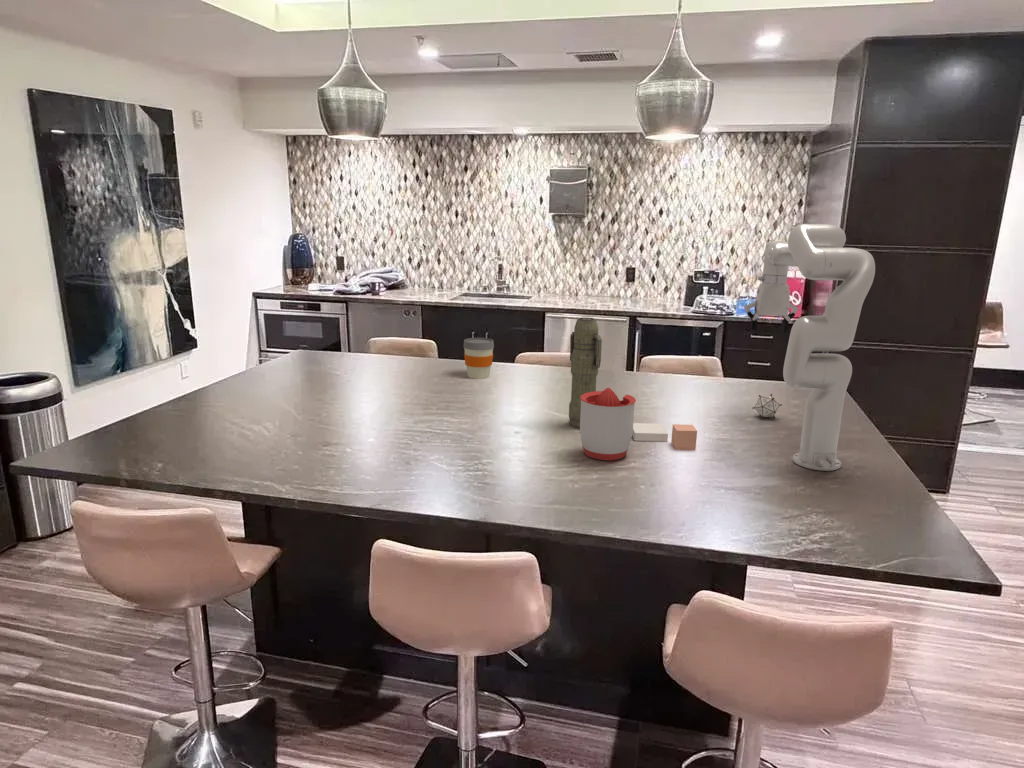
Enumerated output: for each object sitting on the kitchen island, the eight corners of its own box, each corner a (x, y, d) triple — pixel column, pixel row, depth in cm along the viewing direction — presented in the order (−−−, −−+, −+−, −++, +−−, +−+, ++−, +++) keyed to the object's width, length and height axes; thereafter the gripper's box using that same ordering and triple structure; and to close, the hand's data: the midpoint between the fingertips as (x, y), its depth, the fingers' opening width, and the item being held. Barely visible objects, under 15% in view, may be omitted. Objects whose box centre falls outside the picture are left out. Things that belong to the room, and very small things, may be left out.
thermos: (575, 418, 239) (579, 314, 230) (604, 425, 231) (610, 319, 223) (559, 423, 232) (563, 317, 224) (589, 431, 225) (594, 322, 216)
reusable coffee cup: (499, 375, 295) (500, 339, 292) (482, 381, 285) (482, 344, 281) (474, 371, 302) (475, 336, 298) (457, 376, 292) (457, 341, 288)
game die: (769, 429, 243) (784, 412, 235) (746, 419, 244) (760, 401, 236) (773, 411, 249) (787, 393, 241) (750, 401, 250) (763, 383, 242)
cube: (695, 450, 210) (697, 431, 209) (675, 449, 210) (676, 430, 209) (690, 443, 216) (692, 424, 214) (671, 443, 216) (672, 424, 215)
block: (667, 441, 217) (667, 433, 216) (634, 440, 217) (635, 433, 216) (661, 431, 227) (661, 423, 226) (629, 430, 227) (630, 423, 226)
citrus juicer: (642, 450, 209) (646, 384, 204) (619, 468, 195) (624, 397, 190) (593, 440, 217) (596, 377, 212) (568, 457, 202) (571, 389, 197)
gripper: (750, 280, 227) (745, 333, 231) (805, 282, 226) (799, 334, 231) (744, 278, 234) (739, 329, 239) (797, 279, 234) (791, 330, 238)
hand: (768, 332), depth 235 cm, fingers open, 9 cm apart
